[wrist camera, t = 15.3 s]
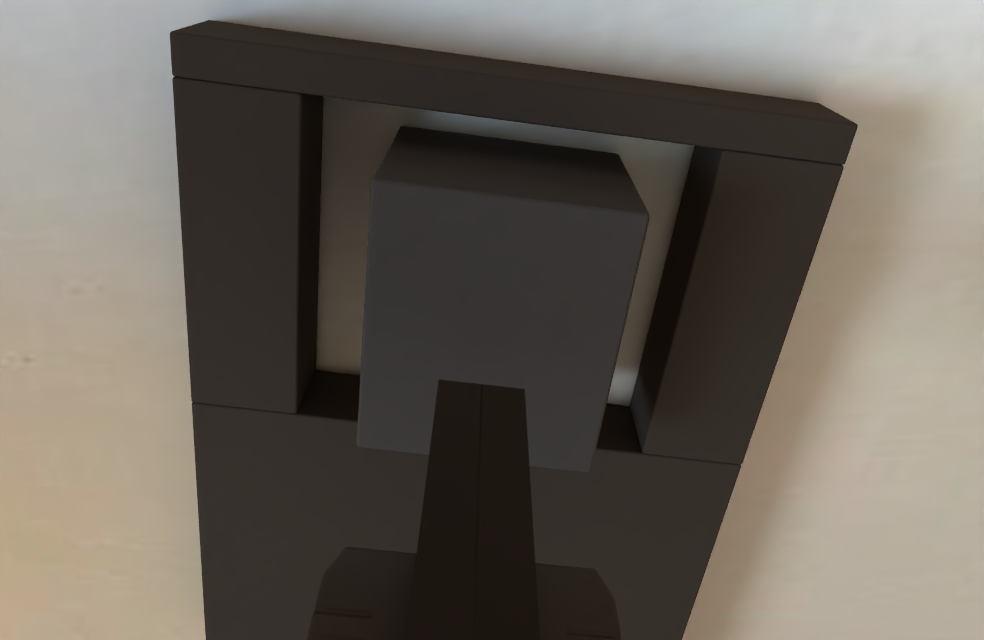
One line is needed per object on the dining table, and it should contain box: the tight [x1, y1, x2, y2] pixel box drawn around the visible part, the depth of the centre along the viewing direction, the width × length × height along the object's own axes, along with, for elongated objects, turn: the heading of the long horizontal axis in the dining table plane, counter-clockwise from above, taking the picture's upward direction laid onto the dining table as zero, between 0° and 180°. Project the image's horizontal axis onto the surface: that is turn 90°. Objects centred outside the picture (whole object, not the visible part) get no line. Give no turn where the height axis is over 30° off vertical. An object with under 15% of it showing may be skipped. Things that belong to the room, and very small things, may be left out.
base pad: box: [170, 20, 857, 640], centre depth 24 cm, size 22×16×2 cm
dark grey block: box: [357, 127, 650, 472], centre depth 20 cm, size 7×6×5 cm
